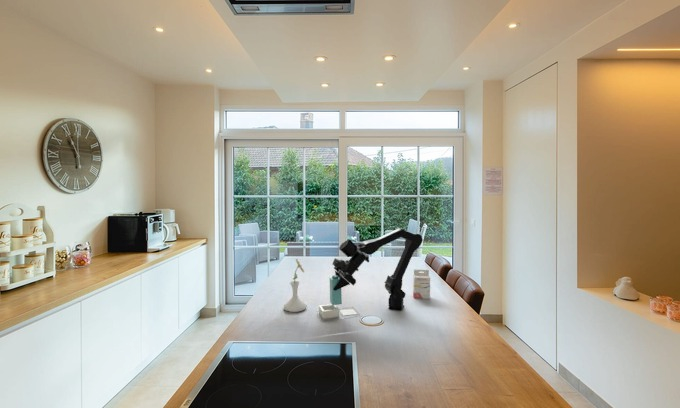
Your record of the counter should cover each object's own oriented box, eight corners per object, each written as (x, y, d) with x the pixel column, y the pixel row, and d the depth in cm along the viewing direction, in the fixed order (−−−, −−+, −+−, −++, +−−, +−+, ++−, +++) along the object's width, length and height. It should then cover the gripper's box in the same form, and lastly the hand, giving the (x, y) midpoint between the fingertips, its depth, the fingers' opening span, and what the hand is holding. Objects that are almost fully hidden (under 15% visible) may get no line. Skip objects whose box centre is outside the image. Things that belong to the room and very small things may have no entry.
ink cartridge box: (414, 298, 184) (414, 271, 183) (413, 295, 188) (413, 269, 188) (430, 298, 183) (430, 271, 182) (428, 295, 188) (429, 269, 187)
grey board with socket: (352, 307, 171) (352, 300, 170) (361, 317, 158) (361, 309, 158) (315, 312, 165) (315, 304, 165) (321, 322, 153) (321, 313, 153)
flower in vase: (302, 315, 162) (302, 263, 161) (280, 313, 164) (279, 262, 163) (310, 305, 175) (309, 257, 173) (289, 304, 177) (288, 256, 176)
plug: (339, 301, 164) (338, 274, 163) (341, 304, 160) (341, 276, 159) (330, 302, 163) (329, 275, 162) (332, 305, 158) (331, 277, 158)
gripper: (337, 248, 170) (316, 273, 167) (348, 256, 152) (325, 283, 149) (352, 262, 172) (332, 286, 170) (365, 272, 154) (343, 298, 152)
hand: (332, 288), depth 160 cm, fingers closed on plug, 4 cm apart
